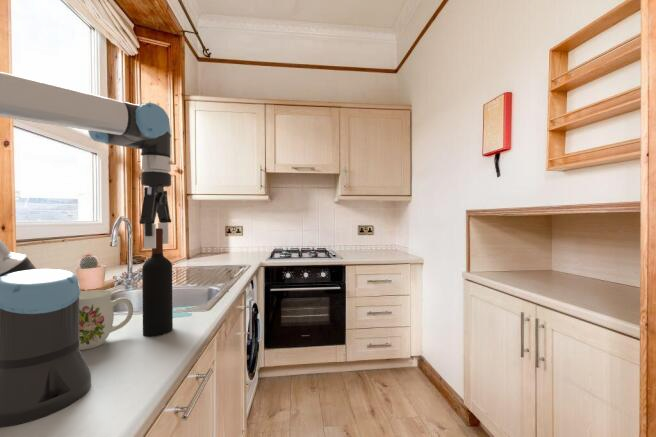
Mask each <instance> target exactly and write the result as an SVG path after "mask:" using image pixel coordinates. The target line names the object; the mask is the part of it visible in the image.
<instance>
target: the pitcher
mask: <svg viewBox="0 0 656 437" xmlns="http://www.w3.org/2000/svg"><path fill="white" fill-rule="evenodd" d="M112 295H113V291H111V290H109V289H108V290H107V289H95V290H94V289H93V290H84V291H83V290H82V291H80V295H79V348H80V351H86V350H91V349H95V348H97V347H100V346H102V345H103V344H104V343H105V341H106V340H107V339H108V337H109V335H110V334H111V333H113V332H115V331H118V330H119V329H122V328H124V327H125V326H126V325H127V324H128V323H129V322H130V321H131V319H132V317H133V315H134V314H133V313H134V306H133V303H132V301H131V299H129V298H128V297H124V296H123V297H119V298H116V299H114V300H111V299H112ZM119 303H125V304H126V306H127V309H128V311H127V315H126V316H125V318H124V319H123V320H122V321H120V322H119V323H118V324H115V325H114V319H115V314H114V313H115V312H114V307H115V306H116V305H117V304H119Z"/></svg>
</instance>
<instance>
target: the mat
mask: <svg viewBox="0 0 656 437" xmlns="http://www.w3.org/2000/svg"><path fill="white" fill-rule="evenodd" d="M196 306H197V305H191V306H190V305H189V306H178V307H176V306H175V307H173V310H176V309H186V308H192V307H196ZM192 316H193V312H192V313H188V312H181V313H173V319H175V318H185V317H192Z"/></svg>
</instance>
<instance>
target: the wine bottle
mask: <svg viewBox="0 0 656 437" xmlns="http://www.w3.org/2000/svg"><path fill="white" fill-rule="evenodd" d="M163 246H164V244H163V228H158V227H156V248H151V255H150V257H149V258H148V259H147V260H146V261H145V262H144V264H143V265H142V267H141V268H142V269H141V275H142V278H141V279H142V282H141V284H142V286H141V288H142V289H141V290H142V293H141V294H142V335H143V336H144V337H146V338H153V337H161V336H164V335H168V334H169V333H171V332H173V330H174V328H173V325H174V323H173V320H174V318H173V308H174V306H173V265H172V262H171V261H170V260H169V259H168V258H167V257H165V256H164V249H163V248H164V247H163Z"/></svg>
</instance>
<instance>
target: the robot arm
mask: <svg viewBox="0 0 656 437" xmlns="http://www.w3.org/2000/svg"><path fill="white" fill-rule="evenodd" d="M0 118H4V119H5V118H7V119H12V120H18V121H24V122H31V123H38V124H46V125H51V126H57V127H58V126H59V127H63V128H64V127H66V128H69V129H70V128H71V129H78V130H82V131H83V130H84V131H87V132H88V135H89V137H90V139H91V140H92V141H94V142H98V143H103V144H105V145H113V146H119V147H125V148H131V149H132V148H133V149H137V150H140V170H141V171H142V172H141V174H140V177H141V178H140V180H141V181H140V182H141V183H140V184H141V186H143V187H144V190H143V191H144V192H143V193H144V194H143V195H144V196H143V201H142V208H141V213H140V220H139V225H143V249H145V250H146V249H147V250H148V249H152V248H156V228H163V245H166V244H167V245H169V243H170V242H169V223H172V219H171V217H170V216H171V215H170V208H169V200H168V191H167V190H164V188H168V187H171V185H172V174H171V173H170V172H171V170H172V166H171V165H173V164H174V162H173V161H172V160H171V153H172V151H171V149H172V148H171V144H172V142H171V141H172V140H171V138H172V134H171V132H172V131H171V124H170V118H169V116H168V113H167V112H166V111H165V109H164V108H162V107H161V106H160V105H158V103H157V104H156V103H153V102H147V103H146V102H144V103H143V102H142V103H140V104H135V103H130V102H127V101H122V100H117V99H114V98H110V97H106V96H101V95H97V94H93V93H88V92H85V91H80V90H77V89H73V88H72V89H71V88H68V87H64V86H60V85H57V84H52V83H49V82H45V81H41V80H37V79H36V80H35V79H31V78H28V77H24V76H23V77H22V76H19V75H15V74H10V73H8V72H3V71H0ZM156 217H158V222H157V224H156V223H155V221H156ZM80 292H81V288H80V285H79V278H78V276H77V275H76V274H75V273H74V272H71V271H69V270H66V269H54V268H37V267H36V266H35V265H34V264H33V262H32V261H31V260H30V258H29V257H28V256H27V254H23V253H19V252H18V253H17V252H12V251H11V250H10V249H9V247H8V246H7V245H6V243H5V242H4V241H3V240H2V239H1V238H0V428H4V427H11V426H15V425H22V424H25V423H29V422H33V421H36V420H39V419H43V418H44V417H47V416H51V415H52V414H55V413H57V412H59V411H62V410H64V409H66V408H68V407H70V406H72V405H73V404H75V403H76V402H78V401H79V400H81V399H82V398H83V397H85V395H86V394H88V392H89V391H90V389H91V387H92V374H91V370H90V369H89V367H88V364H87V363H86V360H85V358H84V356H83V354H82V350H80V348H79V295H80Z"/></svg>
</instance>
